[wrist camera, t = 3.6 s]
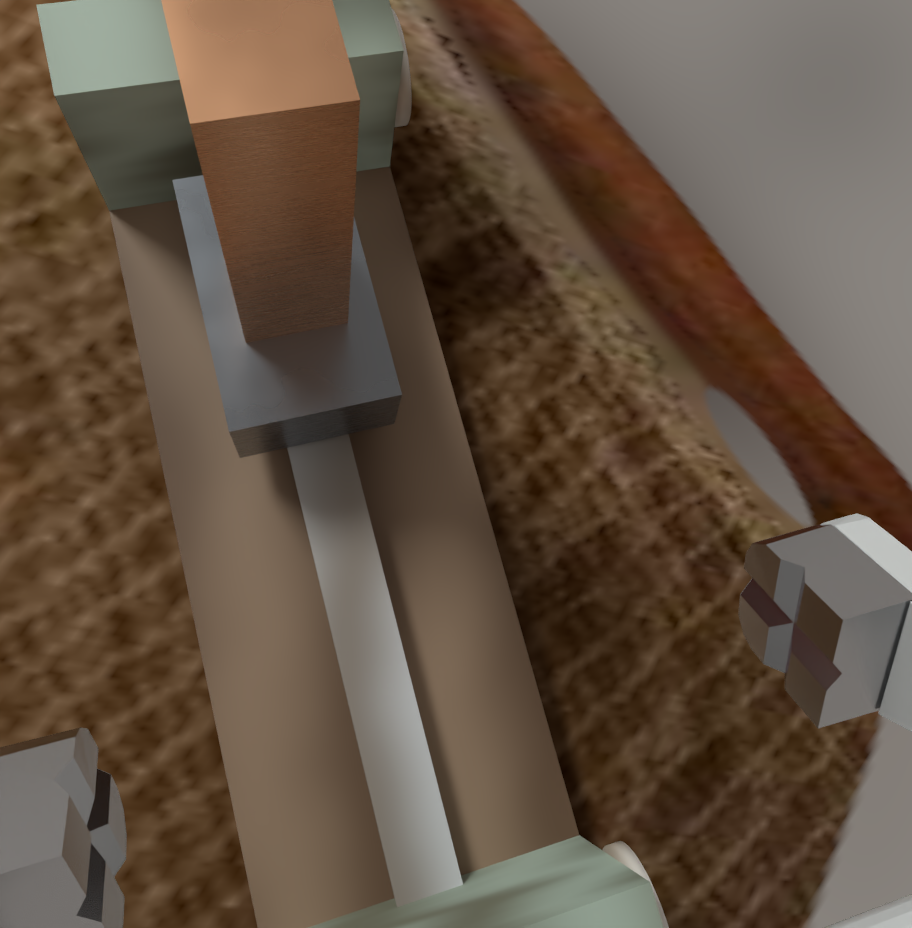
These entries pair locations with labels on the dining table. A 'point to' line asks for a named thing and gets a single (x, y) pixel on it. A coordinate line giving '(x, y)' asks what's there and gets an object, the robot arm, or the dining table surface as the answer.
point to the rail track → (339, 558)
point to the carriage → (279, 222)
